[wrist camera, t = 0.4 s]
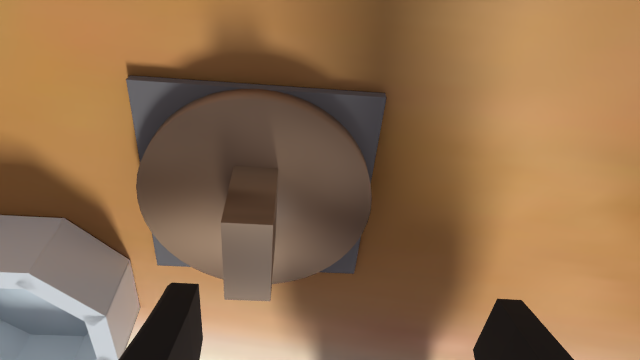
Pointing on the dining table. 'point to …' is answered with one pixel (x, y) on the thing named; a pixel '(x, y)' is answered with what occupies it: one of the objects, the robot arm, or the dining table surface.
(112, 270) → the bowl
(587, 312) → the dining table surface
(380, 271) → the dining table surface
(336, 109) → the mat
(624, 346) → the dining table surface
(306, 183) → the lid
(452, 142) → the dining table surface
